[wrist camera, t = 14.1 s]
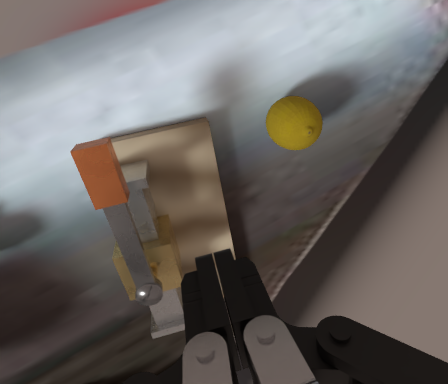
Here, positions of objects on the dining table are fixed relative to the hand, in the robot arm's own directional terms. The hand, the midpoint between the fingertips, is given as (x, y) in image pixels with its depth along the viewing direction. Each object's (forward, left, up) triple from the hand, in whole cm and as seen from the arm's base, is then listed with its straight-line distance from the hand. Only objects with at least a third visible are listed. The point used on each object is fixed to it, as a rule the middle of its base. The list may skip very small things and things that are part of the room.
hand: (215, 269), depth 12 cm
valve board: (-13, +3, -25) cm, 28 cm away
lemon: (-1, -12, -25) cm, 28 cm away
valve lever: (-6, +7, -15) cm, 17 cm away
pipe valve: (-13, +7, -23) cm, 27 cm away
